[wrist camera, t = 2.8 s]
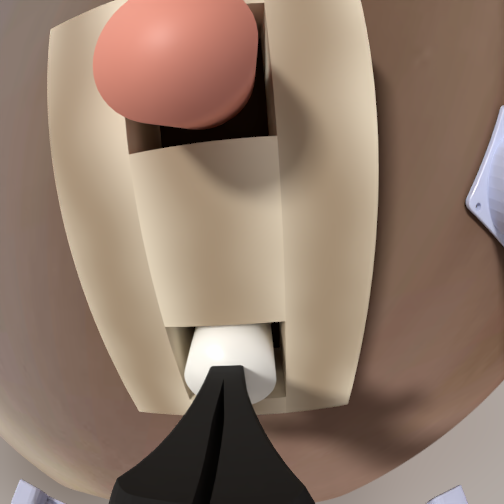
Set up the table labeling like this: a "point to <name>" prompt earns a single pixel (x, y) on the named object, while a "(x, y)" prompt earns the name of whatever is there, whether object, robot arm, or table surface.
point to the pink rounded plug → (178, 61)
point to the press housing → (227, 211)
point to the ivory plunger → (234, 356)
